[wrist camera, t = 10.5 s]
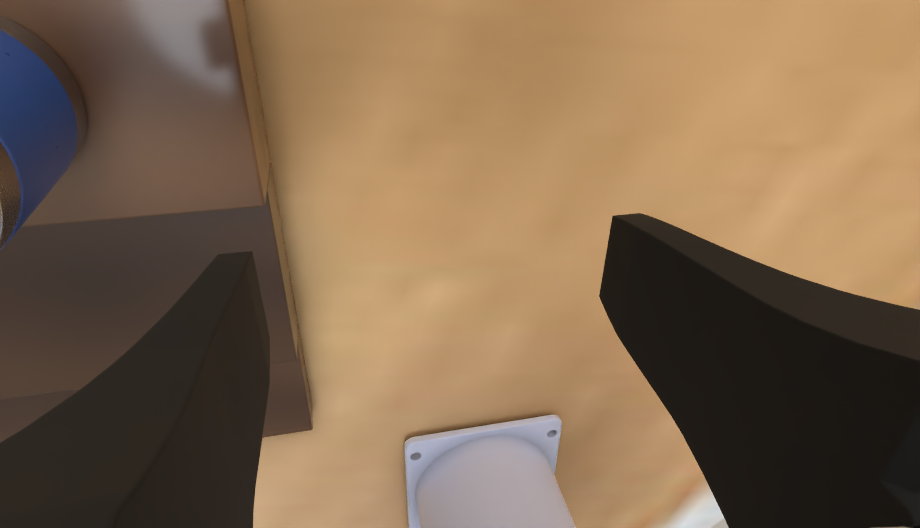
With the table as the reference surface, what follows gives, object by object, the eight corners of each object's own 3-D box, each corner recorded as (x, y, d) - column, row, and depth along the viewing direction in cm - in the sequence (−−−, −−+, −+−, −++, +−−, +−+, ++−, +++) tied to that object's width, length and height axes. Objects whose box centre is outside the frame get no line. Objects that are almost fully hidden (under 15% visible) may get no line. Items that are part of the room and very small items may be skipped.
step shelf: (312, 410, 27) (313, 475, 24) (15, 454, 25) (-24, 531, 22) (232, -73, 17) (217, -63, 14) (-284, -72, 15) (-431, -60, 12)
